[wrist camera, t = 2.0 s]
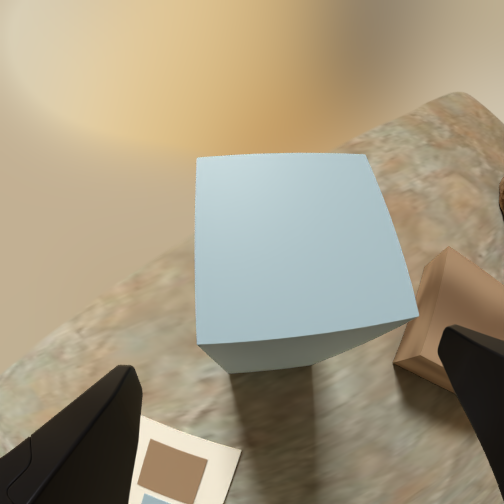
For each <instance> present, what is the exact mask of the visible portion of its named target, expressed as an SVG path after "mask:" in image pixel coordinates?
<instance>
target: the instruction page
mask: <svg viewBox="0 0 504 504" xmlns="http://www.w3.org/2000/svg"><path fill="white" fill-rule="evenodd" d="M240 453H241V450H240V449H236V448H232V447H229V446H225V445H222V444H218V443H215V442H212V441H208V440H205V439H202V438H199V437H196V436H193V435H190V434H188V433H185V432H182V431H179V430H177V429H174V428H171V427H169V426H166V425H164V424H161V423H159V422H156V421H154V420H152V419H149V418H147V417H145V416H142V415H141V418H140V431H139V442H138V449H137V454H136V459H135V465H134V471H133V477H132V483H131V489H130V496H129V503H128V504H223V503H224V500H225V497H226V494H227V491H228V489H229V486H230V483H231V480H232V477H233V474H234V471H235V468H236V465H237V462H238V459H239V456H240Z"/></svg>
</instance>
